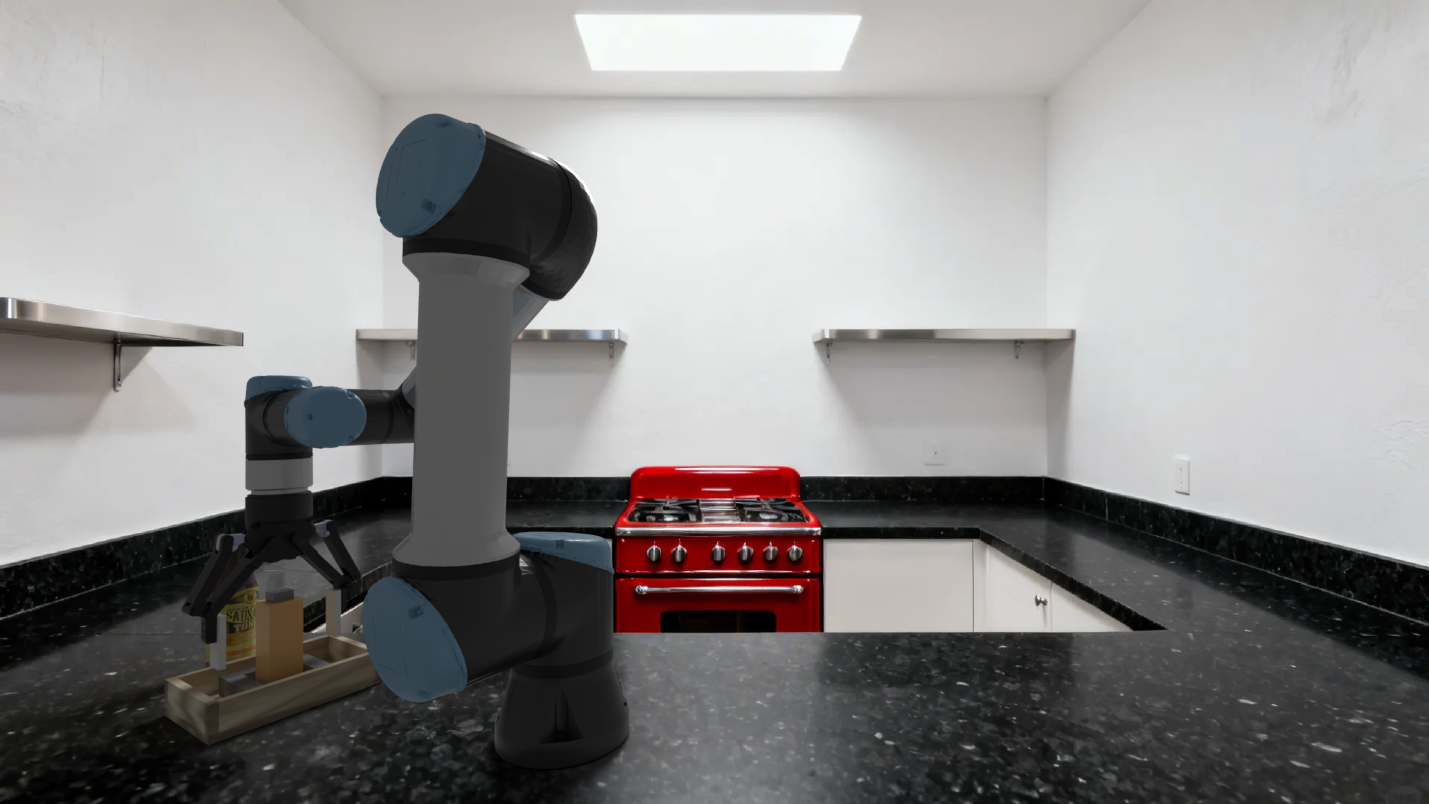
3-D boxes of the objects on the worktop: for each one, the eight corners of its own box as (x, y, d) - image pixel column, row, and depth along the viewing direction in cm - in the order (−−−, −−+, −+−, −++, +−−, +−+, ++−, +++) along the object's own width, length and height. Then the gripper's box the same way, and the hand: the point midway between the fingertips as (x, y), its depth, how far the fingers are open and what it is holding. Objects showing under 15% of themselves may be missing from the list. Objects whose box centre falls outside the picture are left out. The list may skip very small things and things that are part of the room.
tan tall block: (303, 688, 84) (303, 589, 85) (269, 699, 81) (269, 596, 81) (289, 681, 87) (289, 585, 87) (255, 692, 83) (255, 592, 84)
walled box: (382, 682, 88) (382, 649, 88) (208, 745, 72) (208, 705, 72) (332, 662, 96) (332, 632, 96) (164, 715, 79) (164, 679, 79)
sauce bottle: (228, 678, 91) (229, 539, 91) (193, 675, 92) (194, 538, 92) (269, 661, 97) (269, 531, 98) (235, 658, 98) (236, 531, 99)
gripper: (359, 481, 97) (360, 620, 96) (149, 500, 76) (148, 677, 75) (386, 483, 93) (387, 628, 92) (172, 503, 72) (170, 691, 71)
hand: (279, 650), depth 84 cm, fingers open, 13 cm apart
